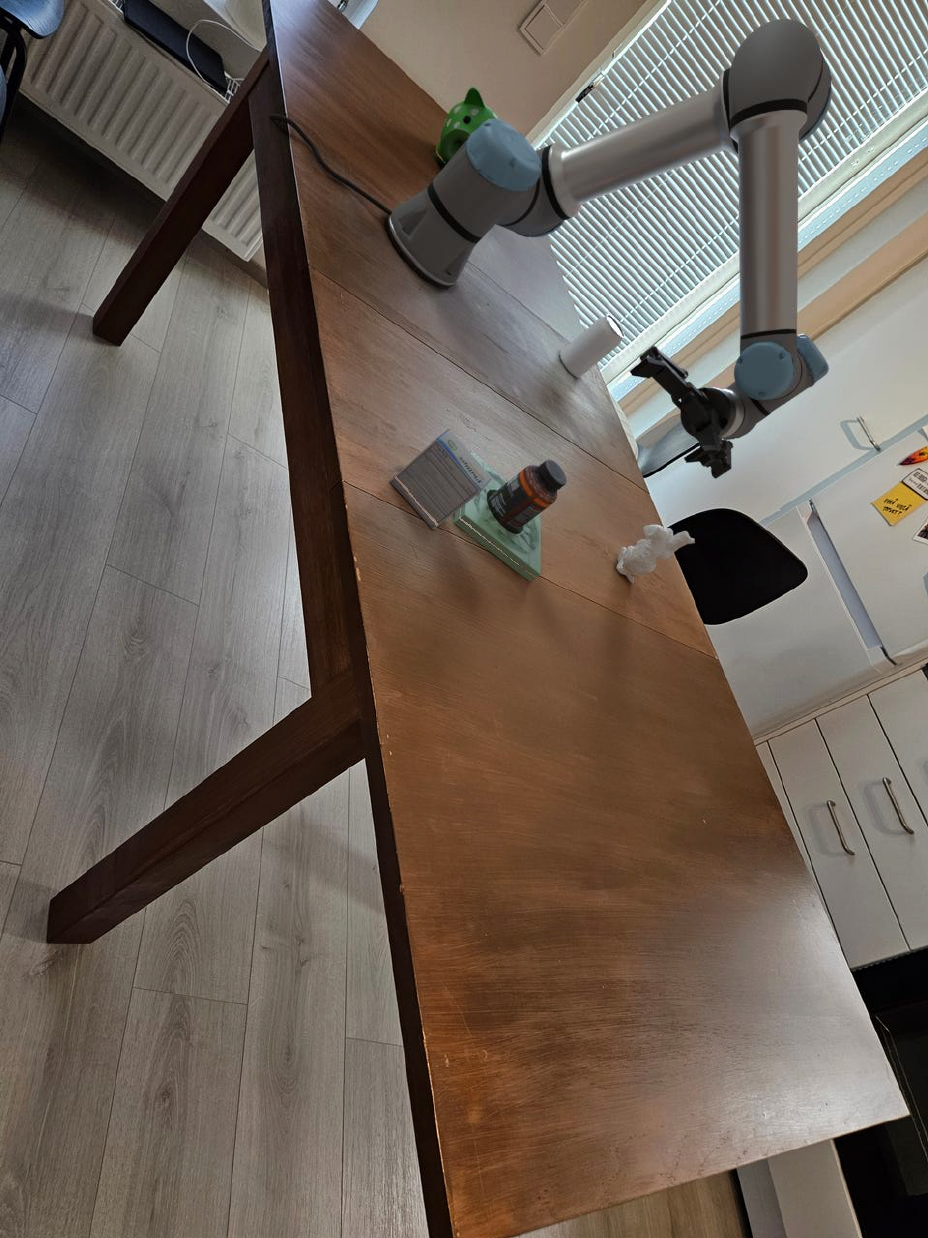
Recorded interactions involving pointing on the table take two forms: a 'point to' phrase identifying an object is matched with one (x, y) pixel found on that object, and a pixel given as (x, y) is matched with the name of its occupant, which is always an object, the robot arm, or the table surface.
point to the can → (592, 345)
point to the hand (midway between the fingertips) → (666, 410)
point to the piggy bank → (462, 124)
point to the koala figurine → (650, 550)
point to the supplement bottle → (526, 495)
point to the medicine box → (442, 478)
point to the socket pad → (502, 530)
